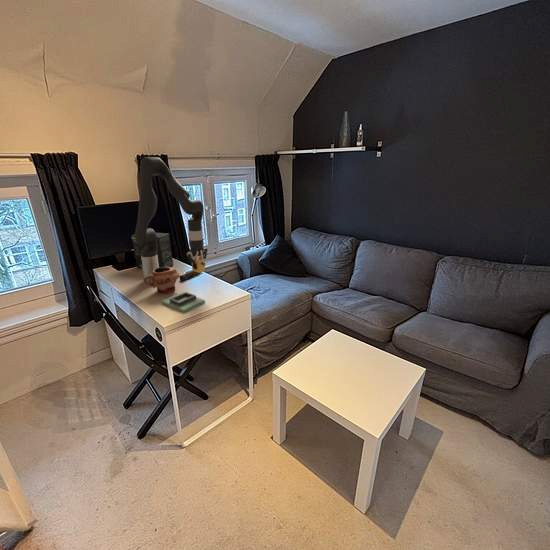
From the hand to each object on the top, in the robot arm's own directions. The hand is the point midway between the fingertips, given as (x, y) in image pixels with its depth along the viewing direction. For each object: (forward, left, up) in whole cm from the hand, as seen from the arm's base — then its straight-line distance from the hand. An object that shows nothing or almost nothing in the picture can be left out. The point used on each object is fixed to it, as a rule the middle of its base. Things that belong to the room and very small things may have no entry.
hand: (198, 267), depth 166 cm
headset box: (-60, +12, -16) cm, 63 cm away
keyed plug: (0, 0, -2) cm, 2 cm away
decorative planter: (-19, -11, -16) cm, 27 cm away
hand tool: (-25, +15, -16) cm, 33 cm away
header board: (+2, -14, -16) cm, 21 cm away
